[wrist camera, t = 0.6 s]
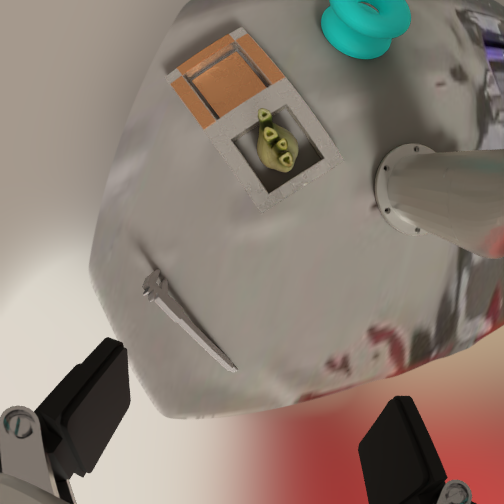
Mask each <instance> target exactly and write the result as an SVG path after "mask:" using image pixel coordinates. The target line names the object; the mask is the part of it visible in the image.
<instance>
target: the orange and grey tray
mask: <svg viewBox="0 0 504 504" xmlns="http://www.w3.org/2000/svg"><path fill="white" fill-rule="evenodd" d="M236 49H238V50H239V51H240V52H241V53H242V54H243V55H244V57H245V58H246V59H247V60H248V61H249V62H250V64H251V65H252V66H253V67H254V68H255V70H256V71H257V72H258V73H259V75H260V76H261V77H262V78H263V79H264V81H265V82H266V83H267V84H268V86H269V87H267V88H266V86H265V85H264V84H263V83H262V81H261V80H260V79H259V78H258V76H257V75H256V74H255V73H254V71H253V70H252V69H251V68H250V67H249V65H248V64H247V63H246V62H245V61H244V60H243V58H242V57H241V56H240V55H239V54H238V53H237V52H235V53H233V54H232V55H230V56H228V57H227V58H225V59H224V60H222V61H220V62H219V63H217V64H216V65H214V66H213V67H211V68H210V69H208V70H207V71H205V72H204V73H202V74H201V75H199V76H198V77H196V78H195V79H194V80H192V82H193V83H194V84H195V86H196V87H197V88H198V89H199V91H200V92H201V93H202V95H203V96H204V97H205V99H206V100H207V101H208V103H209V104H210V105H211V107H212V108H213V109H214V111H215V112H216V113H217V115H218V116H219V117H220V119H218V120H217V118H216V117H215V116H214V114H213V113H212V112H211V110H210V109H209V108H208V106H207V105H206V104H205V102H204V101H203V100H202V98H201V97H200V96H199V94H198V93H197V92H196V90H195V89H194V88H193V86H192V85H191V84H190V83H189V80H190V79H192V78H193V77H195V76H196V75H197V74H199V73H200V72H202V71H203V70H205V69H206V68H208V67H209V66H211V65H212V64H214V63H215V62H217V61H218V60H220V59H222V58H223V57H225V56H226V55H228V54H230V53H231V52H233V51H235V50H236ZM164 78H165V79H166V80H167V82H168V83H169V84H170V86H171V87H172V88H173V90H174V91H175V92H176V94H177V95H178V96H179V98H180V99H181V100H182V102H183V103H184V104H185V106H186V107H187V109H188V110H189V111H190V113H191V114H192V115H193V117H194V118H195V120H196V121H197V122H198V124H199V125H200V126H201V128H202V129H203V131H204V132H205V133H206V135H207V136H208V138H209V139H210V140H211V142H212V143H213V145H214V146H215V147H216V149H217V150H218V152H219V153H220V154H221V156H222V157H223V159H224V160H225V162H226V163H227V164H228V166H229V167H230V169H231V170H232V172H233V173H234V174H235V176H236V177H237V179H238V180H239V182H240V183H241V184H242V186H243V187H244V189H245V190H246V192H247V193H248V195H249V196H250V198H251V199H252V200H253V202H254V203H255V205H256V206H257V208H258V209H259V211H260V212H261V214H262V213H264V212H265V211H267V210H268V209H270V208H272V207H273V206H275V205H276V204H278V203H279V202H281V201H282V200H284V199H285V198H287V197H288V196H290V195H292V194H293V193H295V192H296V191H298V190H299V189H301V188H302V187H304V186H306V185H307V184H309V183H310V182H312V181H313V180H315V179H317V178H318V177H320V176H321V175H323V174H325V173H326V172H328V171H329V170H331V169H332V168H334V167H336V166H337V165H339V164H340V163H342V162H344V161H345V160H344V158H343V157H342V155H341V153H340V152H339V150H338V149H337V147H336V146H335V144H334V143H333V141H332V140H331V138H330V137H329V135H328V134H327V132H326V131H325V129H324V128H323V126H322V125H321V123H320V122H319V121H318V119H317V118H316V116H315V115H314V114H313V112H312V111H311V109H310V108H309V107H308V105H307V104H306V103H305V101H304V100H303V99H302V97H301V96H300V95H299V93H298V92H297V91H296V89H295V88H294V87H293V86H292V84H291V83H290V82H289V80H288V79H287V78H286V77H285V75H284V74H283V73H282V72H281V71H280V69H279V68H278V67H277V66H276V65H275V63H274V62H273V61H272V60H271V59H270V57H269V56H268V55H267V54H266V53H265V52H264V51H263V49H262V48H261V47H260V46H259V45H258V44H257V43H256V42H255V40H254V39H253V38H252V37H251V36H250V35H249V34H248V33H247V32H246V31H245V30H244V29H243V28H242V27H240V28H238V29H237V30H235V31H233V32H231V33H230V34H227V35H226V36H224V37H222V38H221V39H219V40H217V41H216V42H214V43H212V44H211V45H209V46H208V47H206V48H205V49H203V50H202V51H200V52H199V53H197V54H196V55H194V56H193V57H191V58H190V59H188V60H187V61H185V62H184V63H183V64H181V65H180V66H179V67H177V68H176V69H175V70H174V71H172V72H171V73H170V74H168V75H167V76H166V77H164ZM260 108H264V109H267V110H269V111H270V112H271V115H272V116H274V115H276V114H277V113H279V112H280V111H282V110H284V109H285V108H286V109H287V111H288V112H289V113H290V115H291V116H292V117H293V119H294V120H295V122H296V123H297V124H298V126H299V127H300V129H301V130H302V131H303V133H304V134H305V136H306V137H307V139H308V140H309V142H310V143H311V144H312V146H313V147H314V149H315V150H316V152H317V153H318V155H319V156H320V158H321V160H320V161H318V162H317V163H315V164H313V165H312V166H310V167H309V168H307V169H305V170H304V171H302V172H301V173H299V174H298V175H296V176H294V177H293V178H291V179H290V180H288V181H287V182H285V183H284V184H282V185H281V186H279V187H277V188H276V189H274V190H273V191H271V192H270V193H269V192H268V191H267V189H266V188H265V186H264V185H263V183H262V182H261V180H260V179H259V177H258V176H257V175H256V173H255V172H254V170H253V169H252V167H251V166H250V164H249V163H248V162H247V160H246V159H245V157H244V156H243V154H242V153H241V152H240V150H239V149H238V147H237V146H236V145H235V143H234V141H236V140H237V139H239V138H240V137H242V136H243V135H245V134H246V133H248V132H249V131H251V130H252V129H254V128H255V127H257V126H258V125H260V123H259V119H258V110H259V109H260Z"/></svg>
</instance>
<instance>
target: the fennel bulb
mask: <svg viewBox="0 0 504 504" xmlns="http://www.w3.org/2000/svg"><path fill="white" fill-rule="evenodd" d="M258 119H259V123H260V128H259V138H258V141H257V153H258V156H259V158H260V160H261V162H262V163H263V164H264V165H265V166H266V167H268V168H270V169H275V170H278V171H281V172H288V171H290V170H291V169H292V168H293V166H294V162H295V159H296V157H297V155H298V143H297V140H296V139H295V137H294V136H293V135H292V134H291V133H290V132H289V131H288V130H286V129H284V128H283V127H280V126H278V125H276V124H274V123H273V121H272V115H271V112H270V111H269V110H267V109H264V108H260V109H259V110H258Z"/></svg>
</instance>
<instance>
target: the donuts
mask: <svg viewBox="0 0 504 504" xmlns="http://www.w3.org/2000/svg"><path fill="white" fill-rule="evenodd" d="M329 2H330V6H329V7H328V8H327V9H326V10H325V11H324V13H323V15H322V18H321V27H322V31H323V33H324V35H325V37H326V39H327V40H328V41H329V42H330V44H331V45H332V46H334V47H335V48H336V49H337V50H339V51H340V52H342V53H344V54H346V55H348V56H351V57H354V58H358V59H373V58H377V57H379V56H381V55H383V54H384V53H385V52H386V51H387V50H388V49H389V47H390V44H391V40H392V38H396V37H398V36H400V35H402V34H404V33H405V32H406V31H407V29H408V28H409V26H410V22H411V13H410V9H409V6H408V4H407V3H406V1H405V0H329ZM360 2H366V3H369V4H371V5H373V6H374V7H375V8H376V9H377V10H378V11H379V13H378V12H377V11H376V10H375V9H373V8H371V7H370V6H368V5H365V4H363V3H360Z"/></svg>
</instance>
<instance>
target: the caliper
mask: <svg viewBox="0 0 504 504" xmlns="http://www.w3.org/2000/svg"><path fill="white" fill-rule="evenodd" d="M159 273H160V270H159V269H157V270H155V271H154V272H153V273H151V274H150V275H149V276H148V277H147V278H146V279H145V281H144V284H143V286H142V287H143V289H144V290H145V291H144V294H143V296H145V295H147V294H148V299H149V302H151V301H152V300H154V301H155V302H156V303H157V304H158V306H159V307H160V308H161V309H162V310H163V311H164V312H165V313H166V314H167V315H168V316H169V317H170V318H171V319H172V320H173V321H174V322H177V323H178V324H179V325H180V326H181V327H182V328H183V329H184V330H185V331H186V332H187V333H188V334H189V335H190V336H191V337H192V338H193V339H194V340H195V341H196V342H198V343H199V344H200V345H201V346H202V347H203V348H204V349H205V350H206V351H207V352H208V353H209V354H210V355H211V356H212V357H213V358H214V359H215V360H217V361H218V362H219V363H220V364H221V365H222V366H223V367H224V368H225V369H226V370H228V371H229V370H230V371H231V372H235V371H237V370H238V369H237V368H236V367H235V366H234V365H233V363H232V362H231V360H230V359H229V358H228V357H227V356H226V355H225V354H224V353H223V352H222V351H221V350H220V349H219V348H218V347H217V346H216V345H214V344H213V343H212V342H211V341H210V340H209V339H208V338H207V337H206V336H205V335H204V334H203V333H202V332H201V331H200V330H199V329H198V327H197V326H196V325H195V324H194V323H193V322H192V321H191V320H190V319H189V318H188V317H187V316H186V315H185V314H184V313H183V308H182V307H181V306H180V305H179V304H178V303H177V301H176V300H174V299H173V298H172V297H170V296H169V295H168V280H167V279H166V278H165V279H163V280H162V281H161V283H160V284H159V286H158V285H157V284H156V281H157V278H158V276H159Z"/></svg>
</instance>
